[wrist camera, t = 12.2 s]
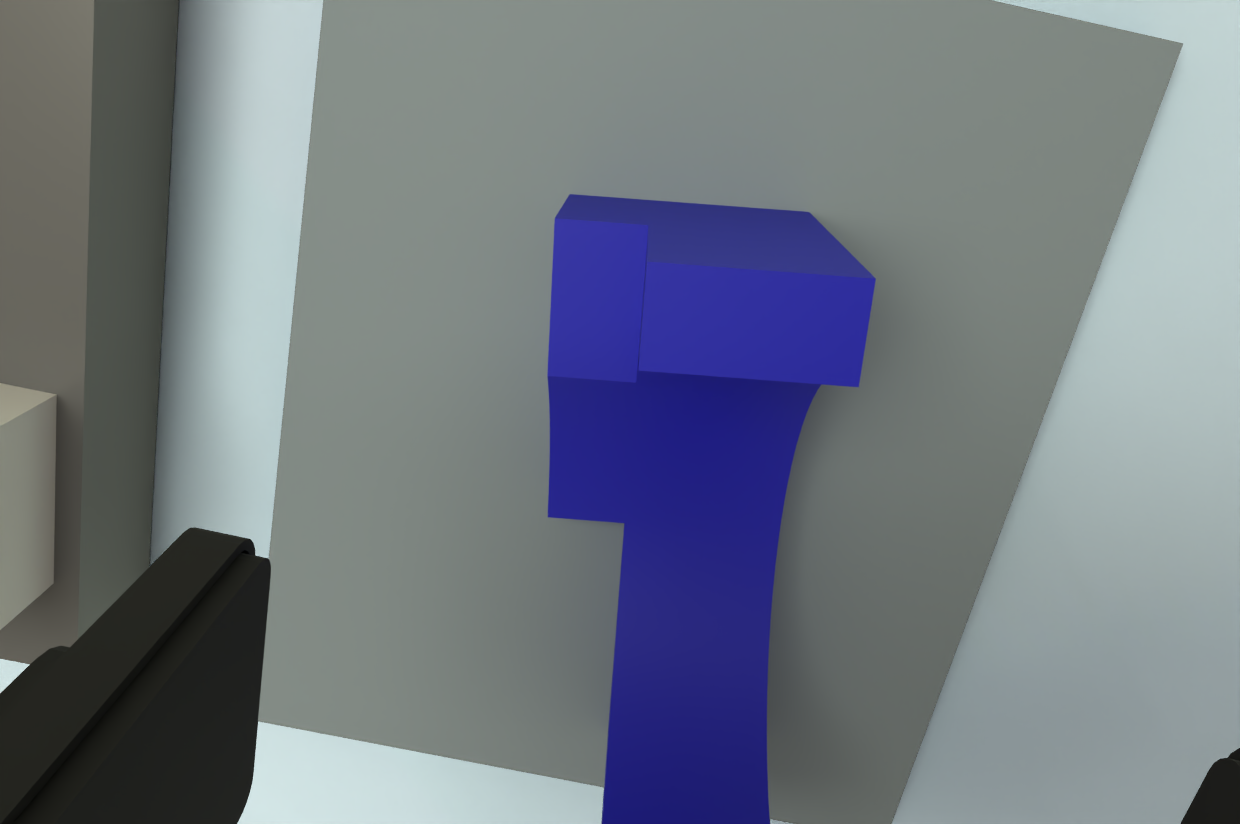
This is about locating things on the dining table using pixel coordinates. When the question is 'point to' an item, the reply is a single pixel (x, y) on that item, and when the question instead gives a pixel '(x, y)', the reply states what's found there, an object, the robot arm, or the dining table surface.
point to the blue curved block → (691, 466)
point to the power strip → (79, 305)
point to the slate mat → (519, 343)
